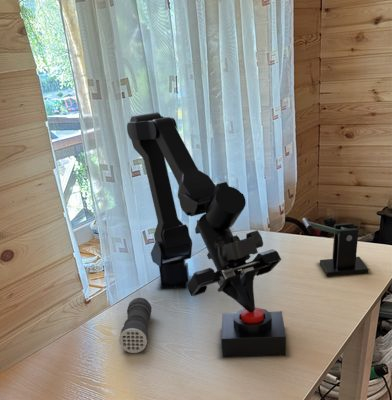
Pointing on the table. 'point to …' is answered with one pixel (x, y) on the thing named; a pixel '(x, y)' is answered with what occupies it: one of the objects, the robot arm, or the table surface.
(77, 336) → the table surface
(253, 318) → the stop button
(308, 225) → the switch lever
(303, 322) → the table surface
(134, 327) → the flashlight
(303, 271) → the table surface
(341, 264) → the switch bracket
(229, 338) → the stop box
